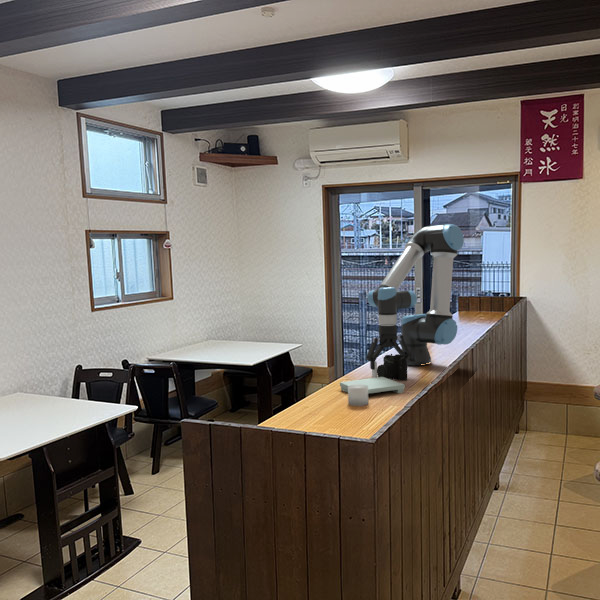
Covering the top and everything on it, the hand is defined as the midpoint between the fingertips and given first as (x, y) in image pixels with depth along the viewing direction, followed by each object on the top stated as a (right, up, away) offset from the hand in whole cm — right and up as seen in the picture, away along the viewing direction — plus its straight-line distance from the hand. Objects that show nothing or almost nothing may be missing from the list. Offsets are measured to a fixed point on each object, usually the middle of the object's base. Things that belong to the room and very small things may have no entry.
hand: (388, 375), depth 233 cm
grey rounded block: (-17, -5, -37) cm, 41 cm away
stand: (-10, -3, -20) cm, 23 cm away
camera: (0, -2, +1) cm, 2 cm away
